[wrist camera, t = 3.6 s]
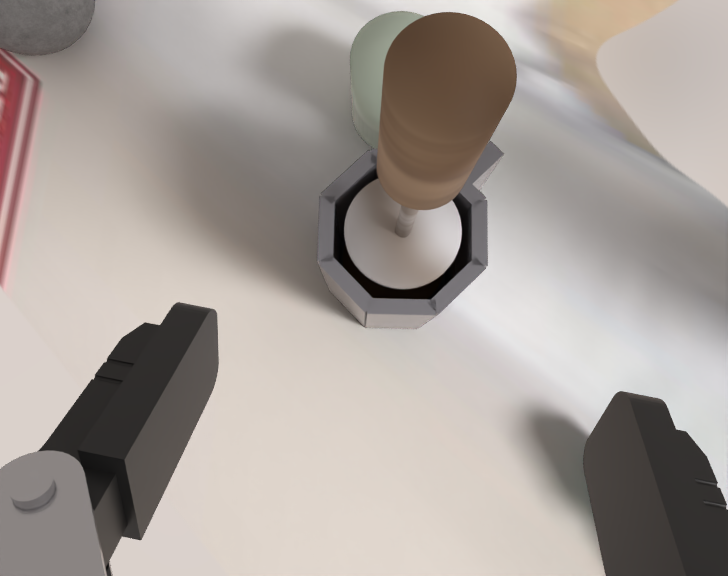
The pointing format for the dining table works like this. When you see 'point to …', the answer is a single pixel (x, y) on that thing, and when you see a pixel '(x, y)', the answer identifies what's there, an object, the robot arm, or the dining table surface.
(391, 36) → the sage green cylinder
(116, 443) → the robot arm
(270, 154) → the dining table surface
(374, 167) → the coffee press pot
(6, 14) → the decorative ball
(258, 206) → the dining table surface
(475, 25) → the plunger
